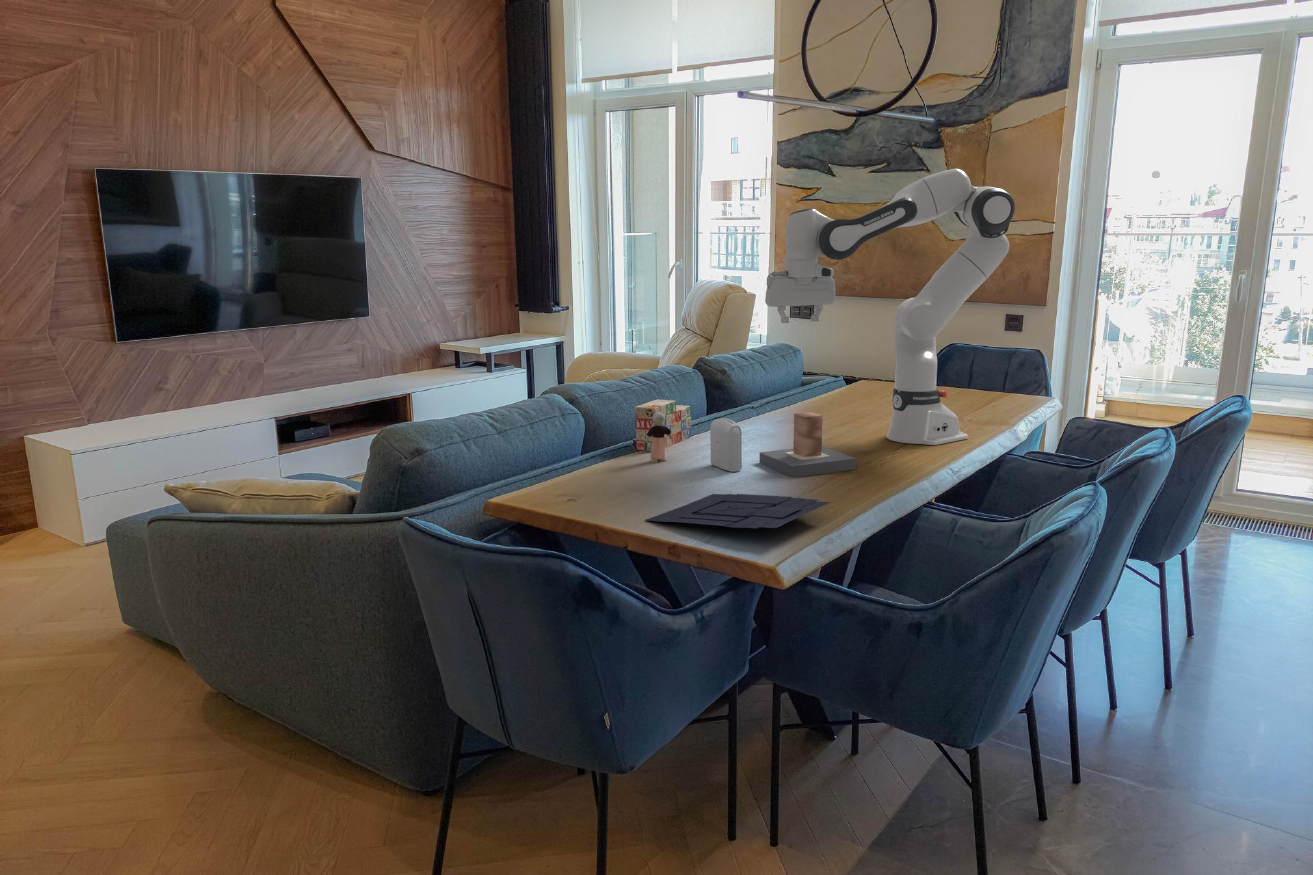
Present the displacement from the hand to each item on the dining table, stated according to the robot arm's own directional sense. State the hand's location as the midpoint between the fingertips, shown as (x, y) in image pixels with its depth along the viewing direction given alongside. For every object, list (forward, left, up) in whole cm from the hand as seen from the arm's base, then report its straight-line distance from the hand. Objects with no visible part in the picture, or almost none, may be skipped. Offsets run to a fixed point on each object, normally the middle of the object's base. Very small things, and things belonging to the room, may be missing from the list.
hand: (800, 322), depth 242 cm
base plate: (+13, +26, -33) cm, 44 cm away
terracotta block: (+13, +26, -30) cm, 42 cm away
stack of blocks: (+35, -14, -34) cm, 50 cm away
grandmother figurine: (+44, +5, -33) cm, 55 cm away
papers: (+49, +59, -34) cm, 83 cm away
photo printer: (+32, +19, -33) cm, 50 cm away
